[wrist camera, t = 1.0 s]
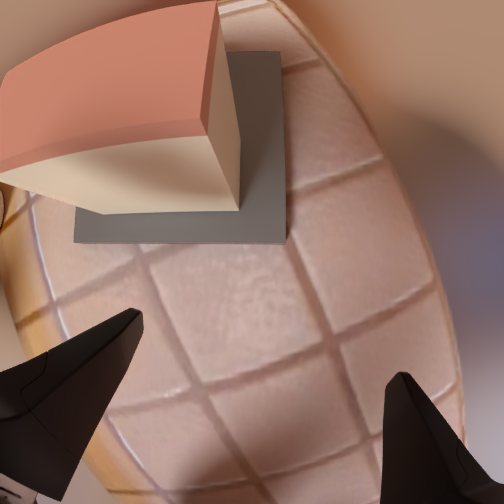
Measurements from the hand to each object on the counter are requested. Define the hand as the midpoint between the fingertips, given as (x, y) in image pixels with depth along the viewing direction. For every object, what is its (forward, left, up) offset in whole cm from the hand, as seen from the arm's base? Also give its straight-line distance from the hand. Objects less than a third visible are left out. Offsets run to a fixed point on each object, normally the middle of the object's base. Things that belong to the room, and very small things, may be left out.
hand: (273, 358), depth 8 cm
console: (+4, +14, -11) cm, 18 cm away
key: (+1, +11, -9) cm, 14 cm away
